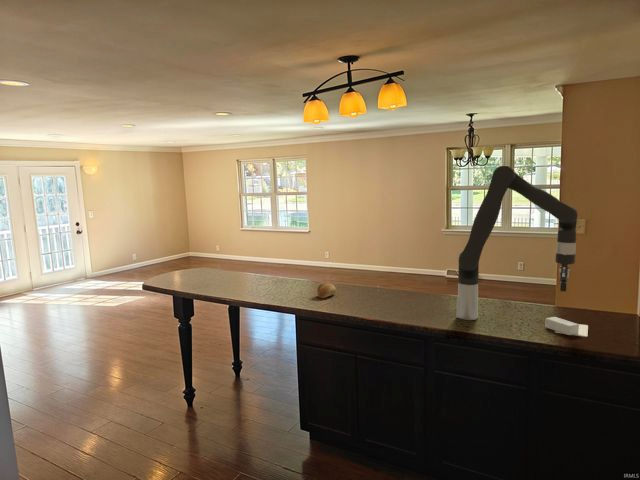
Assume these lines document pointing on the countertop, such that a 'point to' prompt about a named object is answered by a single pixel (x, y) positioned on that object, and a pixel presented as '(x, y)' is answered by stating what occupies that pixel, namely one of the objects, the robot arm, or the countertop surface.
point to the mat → (580, 331)
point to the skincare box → (562, 325)
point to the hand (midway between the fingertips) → (563, 291)
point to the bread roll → (326, 290)
